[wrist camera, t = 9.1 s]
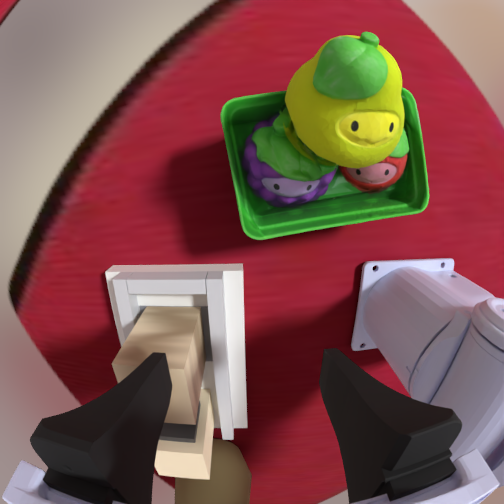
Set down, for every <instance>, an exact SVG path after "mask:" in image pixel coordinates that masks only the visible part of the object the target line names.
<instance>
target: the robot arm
mask: <svg viewBox="0 0 504 504" xmlns="http://www.w3.org/2000/svg"><path fill="white" fill-rule="evenodd" d="M442 263H443V264H442ZM441 264H442V266H441ZM374 266H376V269H375V270H373V267H374ZM453 268H454V260H453V259H451V258H439V259H415V260H390V261H368V262H366V263H364V265H363V267H362V275H361V283H360V291H359V299H358V306H357V312H356V319H355V325H354V331H353V337H352V342H351V347H352V349H353V350H354V351H360V350H367V349H374V348H378V349H379V350H380V352H381V353H382V355H383V356H384V357H385V359H386V360H387V362H388V363H389V365H390V366H391V368H392V369H393V371H394V372H395V374H396V375H397V376H398V378H399V379H400V381H401V382H402V384H403V385H404V387H405V388H406V390H407V391H408V393H409V394H410V396H411V398H410V397H408V396H405V395H403V394H401V393H399V392H396V391H395V390H393V389H391V388H389V387H387V386H385V385H384V384H382V383H381V382H379V381H378V380H376V379H375V378H373V377H372V376H370V375H369V374H368V373H366V372H365V371H364V370H362V369H361V368H360V367H359V366H357V365H356V364H355V363H354V362H353V361H351V360H350V359H349V358H348V357H347V356H345V355H344V354H343V353H342V352H341V351H340V350H338V349H337V348H332V349H324V353H323V360H322V367H321V373H320V380H319V384H320V389H321V393H322V398H323V401H324V404H325V407H326V409H327V412H328V415H329V417H330V420H331V423H332V425H333V428H334V431H335V433H336V436H337V439H338V442H339V447H340V451H341V455H342V460H343V465H344V470H345V476H346V482H347V488H348V496H349V504H479V503H481V502H482V501H483V500H484V499H485V498H486V497H487V496H488V495H490V494H491V493H492V492H493V491H494V490H495V489H496V488H498V487H501V486H504V299H501V298H495V297H494V296H493V295H492V294H491V293H489V292H488V291H486V290H485V289H483V288H481V287H480V286H478V285H476V284H475V283H473V282H471V281H470V280H468V279H466V278H465V277H463V276H461V275H460V274H458V273H456V272H454V271H453ZM363 343H364V344H363ZM361 344H363V345H362V346H360V345H361ZM172 386H173V385H172V381H171V376H170V372H169V367H168V362H167V357H166V353H159V352H153V353H152V354H151V355H149V356H148V357H147V358H146V359H145V360H144V361H143V362H142V363H141V364H140V365H139V366H138V367H137V368H136V369H135V370H134V371H132V372H131V373H130V374H129V375H128V376H127V377H126V378H124V379H123V380H122V381H121V382H119V383H118V384H117V385H116V386H114V387H113V388H112V389H110V390H109V391H107V392H106V393H104V394H103V395H101V396H100V397H98V398H96V399H94V400H92V401H91V402H89V403H87V404H85V405H83V406H81V407H78V408H76V409H74V410H71V411H69V412H65V413H63V414H59V415H56V416H52V417H48V418H44V419H42V420H41V422H40V423H39V425H38V426H37V428H36V430H35V431H34V433H33V434H32V436H31V438H30V442H31V445H32V447H33V449H34V450H35V452H36V453H37V454H38V455H39V457H40V458H41V459H42V460H43V462H44V463H45V464H46V465H47V466H48V470H47V472H45V471H43V470H42V469H40V468H38V467H36V466H34V465H32V464H29V463H28V462H26V461H23V460H21V461H20V463H19V465H18V467H17V469H16V471H15V472H14V474H13V476H12V478H11V480H10V482H9V484H8V486H7V488H6V490H5V492H4V494H3V496H2V498H3V499H4V500H5V501H6V502H7V503H8V504H151V501H152V483H153V474H154V465H155V458H156V451H157V446H158V441H159V438H160V434H161V431H162V428H163V424H164V421H165V418H166V415H167V411H168V408H169V404H170V399H171V393H172Z"/></svg>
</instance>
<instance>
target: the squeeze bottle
mask: <svg viewBox="0 0 504 504" xmlns="http://www.w3.org/2000/svg"><path fill="white" fill-rule="evenodd" d="M251 477H252V475H251V473H250V471H249V468H248V466H247V464H246V462H245V460H244V458H243V456H242V453H241V451H240V450H239V448H238V447H237V446H236V445H234V444H233V443H231V442H228V441H225V440H222V439H213V442H212V455H211V468H210V480H208V479H192V478H181V477H175V504H249V499H250V488H251Z"/></svg>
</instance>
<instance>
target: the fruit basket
mask: <svg viewBox="0 0 504 504" xmlns="http://www.w3.org/2000/svg"><path fill="white" fill-rule="evenodd" d="M378 44H379V39H378V37H377V36H376V35H375V34H373V33H370V32H363V33H362V34H361V37H359V36H352V35H345V36H339V37H335V38H333V39H331V40H329V41H327V42H326V43H325V44H324V45H323V46H322V47H321V48H320V49H319V51H318V52H317V54H316V55H315V57H314V58H312V59H311V60H309V61H308V62H306V63H305V64H304V65H302V66H301V67H300V68H299V70H298V71H297V72H296V73H295V74H294V76H293V78H292V79H291V81H290V83H289V86H288V88H287V91H280V92H271V93H265V94H257V95H250V96H244V97H238V98H234V99H231V100H229V101H228V102H226V103H225V105H224V106H223V108H222V111H221V122H222V127H223V131H224V136H225V142H226V148H227V152H228V158H229V163H230V168H231V173H232V178H233V183H234V188H235V194H236V199H237V205H238V210H239V216H240V221H241V225H242V229H243V231H244V232H245V234H246V235H247V236H249V237H250V238H252V239H256V240H265V239H270V238H275V237H280V236H286V235H291V234H297V233H302V232H306V231H312V230H319V229H325V228H330V227H337V226H343V225H348V224H356V223H361V222H367V221H373V220H378V219H384V218H391V217H397V216H404V215H410V214H417V213H420V212H422V211H423V210H424V209H425V208H426V206H427V205H428V201H429V188H428V178H427V171H426V161H425V154H424V147H423V140H422V133H421V126H420V121H419V115H418V111H417V105H416V102H415V99H414V97H413V95H412V94H411V93H410V92H409V91H408V90H406V89H405V88H402V76H401V72H400V69H399V67H398V64H397V63H396V61H395V59H394V58H393V57H392V56H391V55H390V54H389V53H388V52H387V51H386V50H385V49H384V48H383V47H381V46H380V45H378Z"/></svg>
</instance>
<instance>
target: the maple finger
mask: <svg viewBox="0 0 504 504" xmlns="http://www.w3.org/2000/svg"><path fill="white" fill-rule="evenodd" d="M153 352H159V353H166V357H167V362H168V367H169V372H170V376H171V381H172V385H173V386H172V393H171V399H170V404H169V408H168V411H167V415H166V418H165V421H164V422H165V423H177V424H192V425H196V419H197V413H198V406H199V399H200V393H201V387H202V380H203V374H204V368H205V362H206V350H205V342H204V333H203V324H202V314H201V307H156V306H147V307H146V309H145V310H144V312H143V313H142V315H141V316H140V318H139V320H138V321H137V323H136V324H135V326H134V328H133V329H132V331H131V332H130V334H129V336H128V337H127V339H126V341H125V342H124V344H123V346H122V347H121V349H120V351H119V352H118V354H117V356H116V357H115V359H114V361H113V362H112V367H113V370H114V373H115V376H116V378H117V381H118V383H119V382H121V381H122V380H123V379H124V378H126V377H127V376H128V375H129V374H130V373H131V372H132V371H134V370H135V369H136V368H137V367H138V366H139V365H140V364H141V363H142V362H143V361H144V360H145V359H146V358H147V357H148V356H149V355H151V354H152V353H153Z"/></svg>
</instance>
